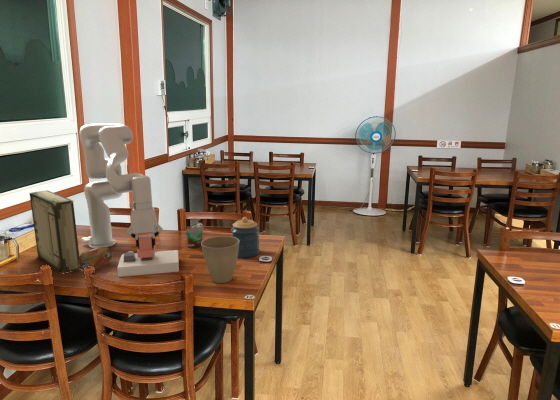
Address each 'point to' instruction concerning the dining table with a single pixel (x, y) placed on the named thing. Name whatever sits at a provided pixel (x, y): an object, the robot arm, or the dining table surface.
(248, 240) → the canister
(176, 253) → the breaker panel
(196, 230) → the food container
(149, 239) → the cap
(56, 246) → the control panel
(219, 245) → the plant pot
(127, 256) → the block
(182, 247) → the dining table surface
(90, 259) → the tin
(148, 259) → the tagged breaker button
